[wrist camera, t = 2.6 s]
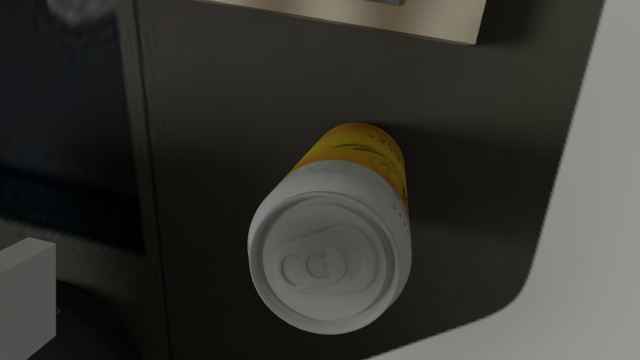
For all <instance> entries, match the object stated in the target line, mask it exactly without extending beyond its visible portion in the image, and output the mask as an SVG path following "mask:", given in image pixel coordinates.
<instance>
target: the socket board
mask: <svg viewBox="0 0 640 360" xmlns="http://www.w3.org/2000/svg"><path fill="white" fill-rule="evenodd" d="M193 1H199V2H205V3H211V4H217V5H223V6H229V7H235V8H241V9H247V10H253V11H259V12H265V13H271V14H277V15H283V16H289V17H295V18H301V19H307V20H313V21H319V22H325V23H331V24H337V25H343V26H350V27H356V28H362V29H368V30H374V31H380V32H386V33H392V34H398V35H404V36H410V37H416V38H422V39H428V40H434V41H440V42H446V43H452V44H458V45H464V46H467V45H474V44H475V43H476V39H477V35H478V31H479V27H480V23H481V19H482V15H483V11H484V7H485V3H486V0H193Z"/></svg>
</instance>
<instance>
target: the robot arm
mask: <svg viewBox="0 0 640 360" xmlns="http://www.w3.org/2000/svg"><path fill="white" fill-rule="evenodd" d="M0 360H139V356H138V353H137V351H136V348H135V346H134V344H133V342H132V340H131V338H130V336H129V335H128V333H127V331H126V330H125V328H124V327H123V326H122V324H121V323H120V322H119V321H118V320H117V318H116V317H115V316H114V315H113V314H112V313H111V312H110V311H109V310H108V309H107V308H106V307H105V306H103V305H102V304H101V303H100V302H98V301H97V300H95V299H94V298H93V297H91V296H89V295H88V294H86V293H84V292H82V291H81V290H78V289H76V288H74V287H72V286H69V285H66V284H63V283H60V282H56V243H51V242H47V241H43V240H38V239H34V238H30V237H28V238H26V239H24V240H22V241H20V242H18V243H16V244H14V245H12V246H10V247H8V248H6V249H4V250H2V251H0Z"/></svg>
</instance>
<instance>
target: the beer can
mask: <svg viewBox="0 0 640 360" xmlns="http://www.w3.org/2000/svg"><path fill="white" fill-rule="evenodd" d="M248 256H249V266H250V273H251V277H252V280H253V283H254V285H255V288H256V290H257V292H258V293H259V295H260V297H261V298H262V300H263V301H264V303H265V304H266V305H267V306H268V307H269V308H270V309H271V310H272V311H273V312H274V313H275V314H276V315H277V316H279V317H280V318H281V319H283V320H284V321H286V322H287V323H289V324H291V325H293V326H295V327H297V328H299V329H302V330H305V331H309V332H312V333H318V334H330V335H331V334H342V333H348V332H352V331H355V330H358V329H360V328H363V327H364V326H366V325H368V324H370V323H371V322H373V321H374V320H376V319H377V318H378V317H379V316H380V315H381V314H382V313H383V312H384V311H385V310H386V309H387V308H388V307H389V306H390V305H391V304H392V303H393V302H394V301H395V300H396V299H397V298H398V296H399V295H400V293H401V292H402V290H403V288H404V286H405V284H406V282H407V279H408V276H409V274H410V269H411V262H412V247H411V235H410V223H409V210H408V198H407V186H406V174H405V163H404V158H403V155H402V152H401V150H400V148H399V146H398V145H397V143H396V142H395V141H394V139H393V138H392V137H391V136H390V135H389V134H387V133H386V132H385V131H383V130H382V129H380V128H378V127H376V126H373V125H370V124H366V123H347V124H343V125H340V126H337V127H335V128H333V129H331V130H330V131H328V132H327V133H326V134H325V135H323V136H322V137H321V139H320V140H319V141H318V142H317V143H316V144H315V145H314V146H313V147H312V148H311V149H310V150H309V152H308V153H307V154H306V155H305V156H304V157H303V158H302V159H301V160H300V161H299V162H298V164H297V165H296V166H295V167H294V168H293V169H292V170H291V171H290V172H289V173H288V174H287V175H286V177H285V178H284V179H283V180H282V181H281V182H280V183H279V184H278V185H277V186H276V187H275V189H274V190H273V191H272V192H271V193H270V194H269V195H268V196H267V197H266V198H265V200H264V201H263V202H262V203H261V205H260V206H259V208H258V209H257V211H256V213H255V215H254V217H253V219H252V222H251V225H250V229H249V234H248Z"/></svg>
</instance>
